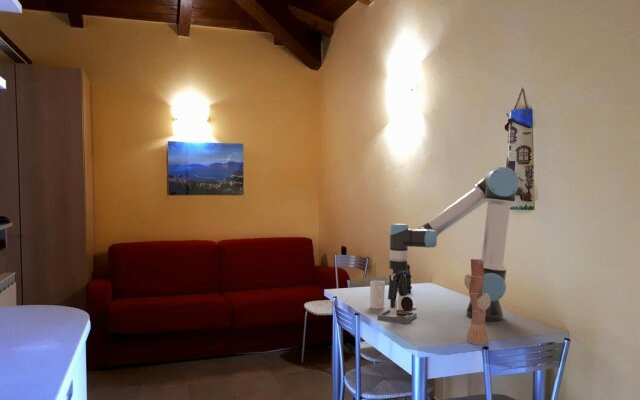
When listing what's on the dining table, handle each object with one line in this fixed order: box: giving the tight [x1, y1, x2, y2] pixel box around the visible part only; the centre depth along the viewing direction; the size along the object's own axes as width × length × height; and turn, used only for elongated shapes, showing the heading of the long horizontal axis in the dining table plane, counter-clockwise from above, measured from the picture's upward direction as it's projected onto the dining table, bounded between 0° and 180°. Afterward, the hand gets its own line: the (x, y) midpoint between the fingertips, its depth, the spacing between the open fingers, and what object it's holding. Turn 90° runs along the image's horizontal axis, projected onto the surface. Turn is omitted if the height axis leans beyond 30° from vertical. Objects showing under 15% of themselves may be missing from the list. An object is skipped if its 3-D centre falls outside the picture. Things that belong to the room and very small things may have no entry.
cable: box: [407, 305, 417, 312], centre depth 218 cm, size 2×14×1 cm, turn 149°
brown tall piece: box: [463, 258, 491, 346], centre depth 176 cm, size 10×7×30 cm
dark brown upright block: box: [404, 263, 413, 294], centre depth 264 cm, size 4×13×15 cm, turn 14°
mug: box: [369, 280, 386, 310], centre depth 224 cm, size 10×7×12 cm, turn 16°
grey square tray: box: [377, 308, 418, 325], centre depth 206 cm, size 13×13×2 cm
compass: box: [397, 295, 414, 316], centre depth 204 cm, size 8×8×7 cm
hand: (397, 312), depth 206 cm, fingers closed on compass, 8 cm apart
